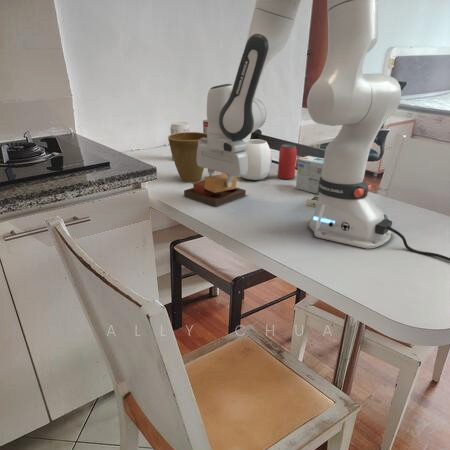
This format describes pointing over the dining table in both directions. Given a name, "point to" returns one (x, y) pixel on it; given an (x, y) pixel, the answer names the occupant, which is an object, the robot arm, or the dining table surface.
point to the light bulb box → (309, 173)
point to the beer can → (287, 161)
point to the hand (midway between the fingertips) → (220, 184)
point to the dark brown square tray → (216, 196)
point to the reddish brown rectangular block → (202, 188)
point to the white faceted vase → (258, 159)
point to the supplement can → (179, 128)
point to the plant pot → (186, 154)
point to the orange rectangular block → (218, 183)
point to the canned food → (205, 126)
